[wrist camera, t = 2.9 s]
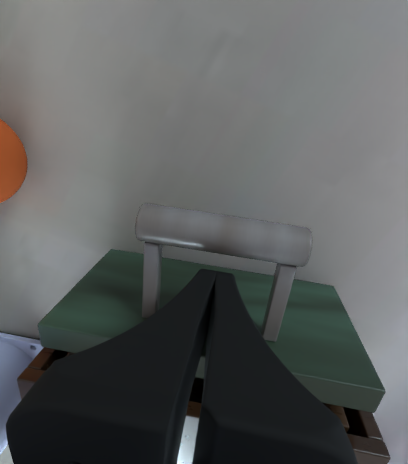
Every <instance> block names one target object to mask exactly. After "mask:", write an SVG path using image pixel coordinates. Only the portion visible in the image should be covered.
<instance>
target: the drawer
mask: <svg viewBox="0 0 408 464" xmlns="http://www.w3.org/2000/svg"><path fill="white" fill-rule="evenodd" d="M135 233H136V238H137V239H138V240H139V241H145V243H144V254H139V253H133V252H127V251H121V250H115V249H111V250H110V251H109V252H108V253H107V254H106V255H105V256H104V257H103V258H102V259H101V260H100V261H99V262H98V263H97V264H96V265H95V266H94V267H93V268H92V269H91V270H90V271H89V272H88V273H87V274H86V275H85V276H84V277H83V278H82V279H81V280H80V281H79V282H78V283H77V284H76V285H75V286H74V287H73V288H72V290H71V291H70V292H69V293H68V294H67V295H66V296H65V297H64V298H63V299H62V300H61V301H60V302H59V303H58V304H57V305H56V306H55V307H54V308H53V309H52V310H51V311H50V312H49V313H48V314H47V315H46V316H45V317H44V318H43V319H42V320H41V321H40V322H39V323H38V330H39V336H40V342H41V346H42V347H46V348H51V349H56V350H61V351H66V352H68V353H67V355H66V356H65V357H67V356H69V355H72V354H75V353H78V352H80V351H83V350H86V349H89V348H91V347H94V346H96V345H98V344H101V343H103V342H105V341H107V340H110V339H112V338H114V337H116V336H118V335H120V334H122V333H124V332H126V331H127V330H129V329H131V328H133V327H134V326H136V325H137V324H139V323H141V322H142V321H144V320H145V319H147V318H148V317H150V316H151V315H153V314H154V313H155V312H157V311H158V310H159V309H161V308H162V307H163V306H164V305H166V304H167V303H168V302H169V301H170V300H171V299H173V298H174V297H175V296H176V295H177V294H178V293H179V292H180V291H181V290H182V289H183V288H184V287H185V286H186V285H187V284H188V283H189V282H190V281H191V280H192V278H193V277H194V276H195V275H196V273H197V272H198V271H199V270H200V269H202V268H203V269H208V270H214V271H220V272H226V273H232V274H233V275H234V276H235V280H236V284H237V287H238V290H239V293H240V295H241V298H242V300H243V302H244V304H245V306H246V309H247V311H248V313H249V315H250V317H251V318H252V320H253V322H254V324H255V325H256V327H257V329H258V330H259V332H260V334H261V335H262V337H263V338H264V340H265V341H266V342H267V344H268V345H269V347H270V348H271V349H272V351H273V352H274V353H275V355H276V356H277V357H278V358H279V359H280V360H281V362H282V363H283V364H284V365H285V366H286V368H287V369H288V370H289V371H290V372H291V373H292V374H293V375H294V376H295V377H296V378H297V379H298V380H299V381H300V382H301V383H302V384H303V385H304V386H305V387H306V388H307V389H308V390H309V391H310V392H311V393H312V394H313V395H314V396H315V397H316V398H317V399H319V400H320V401H321V402H322V403H323V404H324V405H325V406H326V407H328V408H329V409H330V410H331V411H332V412H333V413H334V414H336V415H337V416H338V417H339V418H340V419H341V422H342V424H343V426H344V429H345V431H346V433H347V431H348V429H349V424H348V421H347V418H346V415H345V412H344V409H343V407H346V408H351V409H356V410H361V411H366V412H371V413H374V412H375V411H376V409H377V407H378V405H379V403H380V401H381V400H382V398H383V396H384V394H385V389H384V387H383V385H382V383H381V381H380V379H379V377H378V375H377V373H376V371H375V368H374V366H373V364H372V362H371V360H370V358H369V356H368V354H367V352H366V350H365V348H364V346H363V344H362V342H361V340H360V338H359V336H358V334H357V332H356V330H355V328H354V326H353V324H352V322H351V320H350V318H349V316H348V314H347V312H346V310H345V308H344V306H343V304H342V302H341V300H340V298H339V296H338V294H337V292H336V290H335V288H334V286H331V285H325V284H319V283H313V282H307V281H301V280H295V279H294V276H295V272H296V269H297V268H296V266H299V267H303V266H305V265H306V264H307V262H308V260H309V257H310V254H311V249H312V232H311V230H310V229H309V228H307V227H301V226H294V225H288V224H281V223H274V222H268V221H261V220H254V219H248V218H241V217H235V216H228V215H221V214H215V213H208V212H201V211H195V210H188V209H182V208H175V207H168V206H162V205H155V204H148V203H144V204H142V205H141V207H140V209H139V211H138V214H137V217H136V224H135ZM163 245H169V246H175V247H182V248H188V249H194V250H200V251H206V252H212V253H218V254H225V255H231V256H237V257H243V258H249V259H255V260H262V261H268V262H274V263H277V266H276V270H275V275H274V276H271V275H265V274H259V273H253V272H247V271H241V270H235V269H229V268H223V267H217V266H211V265H205V264H199V263H193V262H187V261H181V260H175V259H169V258H163V257H162V248H163ZM206 340H207V337H206ZM206 340H205V344H204V347H203V351H202V354H201V358H200V361H199V365H198V368H197V372H196V375H195V379H194V382H193V386H192V389H191V393H190V398H189V401H192V402H197V403H202V395H203V384H204V369H205V355H206Z"/></svg>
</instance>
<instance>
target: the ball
mask: <svg viewBox="0 0 408 464" xmlns="http://www.w3.org/2000/svg"><path fill="white" fill-rule="evenodd" d="M26 172H27V156H26V152H25V149H24V147H23V144H22V142H21V141H20V139H19V137H18V136H17V134H16V133H15V132H14V131H13V130H12V129H11V128H10V127H9V126H8V125H7V124H6V123H5V122H4V121H2V120H1V119H0V203H1V202H4V201H5V200H7V199H8V198H10V197H11V196H12V195H14V194H15V193H16V192H17V191H18V189H19V188H20V187H21V185H22V183H23V181H24V179H25V176H26Z"/></svg>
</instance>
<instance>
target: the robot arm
mask: <svg viewBox="0 0 408 464" xmlns="http://www.w3.org/2000/svg"><path fill="white" fill-rule="evenodd" d="M206 337H207V340H206ZM205 340H206V355H205V369H204V384H203V395H202V404H201V410H200V416H199V423H198V429H197V435H196V442H195V448H194V455H193V461H192V464H358V462H357V459H356V455H355V453H354V450H353V448H352V445H351V443H350V440H349V438H348V436H347V433H346V431H345V429H344V426H343V424H342V422H341V419H340V418H339V417H338V416H337V415H336V414H334V413H333V412H332V411H331V410H330V409H329V408H328V407H326V406H325V405H324V404H323V403H322V402H321V401H320V400H319V399H317V398H316V397H315V396H314V395H313V394H312V393H311V392H310V391H309V390H308V389H307V388H306V387H305V386H304V385H303V384H302V383H301V382H300V381H299V380H298V379H297V378H296V377H295V376H294V375H293V374H292V373H291V372H290V371H289V370H288V369H287V368H286V366H285V365H284V364H283V363H282V362H281V360H280V359H279V358H278V357H277V356H276V355H275V353H274V352H273V351H272V349H271V348H270V347H269V345H268V344H267V342H266V341H265V340H264V338H263V337H262V335H261V334H260V332H259V330H258V329H257V327H256V325H255V324H254V322H253V320H252V318H251V317H250V315H249V313H248V311H247V309H246V306H245V304H244V302H243V300H242V298H241V295H240V293H239V290H238V287H237V284H236V280H235V276H234V275H233V274H232V273H226V272H220V271H214V270H208V269H203V268H202V269H200V270H199V271H198V272H197V273H196V275H195V276H194V277H193V278H192V280H191V281H190V282H189V283H188V284H187V285H186V286H185V287H184V288H183V289H182V290H181V291H180V292H179V293H178V294H177V295H176V296H175V297H174V298H173V299H171V300H170V301H169V302H168V303H167V304H166V305H164V306H163V307H162V308H161V309H159V310H158V311H157V312H155V313H154V314H153V315H151V316H150V317H148V318H147V319H145V320H144V321H142V322H141V323H139V324H137V325H136V326H134V327H133V328H131V329H129V330H127V331H126V332H124V333H122V334H120V335H118V336H116V337H114V338H112V339H110V340H107V341H105V342H103V343H101V344H98V345H96V346H94V347H91V348H89V349H86V350H83V351H80V352H78V353H75V354H72V355H69V356H67V357H64V358H61V359H58V360H55V361H54V362H53V363H52V365H51V366H50V367H49V368H48V369H47V370H46V371H45V372H44V373H43V374H42V375H41V376H40V377H39V379H38V380H37V381H36V382H35V383H34V384H33V386H32V387H31V388H30V390H29V391H28V392H27V393H26V395H25V396H24V397H23V399H22V400H21V396H20V392H19V387H18V383H17V378H18V377H19V375H20V374H21V373H22V372H23V371H24V370H25V368H27V367H28V365H29V364H30V363H31V362H32V360H33V359H34V358H35V357H36V356H37V355H38V353H39V352H40V351H41V350H42V349H43V348H44V347H42V346H41V342H40V340H36V339H31V338H26V337H21V336H16V335H11V334H6V333H0V454H1V453H2V452H3V450H4V449H5V447H6V446H7V445H9V449H10V452H11V456H12V459H13V463H14V464H177V460H178V455H179V449H180V444H181V439H182V433H183V428H184V423H185V418H186V413H187V407H188V402H189V398H190V393H191V389H192V386H193V382H194V379H195V375H196V372H197V368H198V365H199V361H200V358H201V354H202V351H203V347H204V344H205Z"/></svg>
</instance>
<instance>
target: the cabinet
mask: <svg viewBox="0 0 408 464" xmlns="http://www.w3.org/2000/svg"><path fill="white" fill-rule="evenodd" d="M67 353H68V352H66V351H61V350H56V349H51V348H46V347H44V348H43V349H42V350H41V351H40V352H39V353H38V355H37V356H36V357H35V358H34V359H33V360H32V362H31V363H30V364H29V365H28V367H27V368H25V370H24V371H23V372H22V373H21V374H20V375H19V377H18V378H17V383H18V387H19V392H20V396H21V400H22V399H23V397H24V396H25V395H26V393H27V392H28V391H29V390H30V388H31V387H32V386H33V384H34V383H35V382H36V381H37V380H38V379H39V377H40V376H41V375H42V374H43V373H44V372H45V371H46V370H47V369H48V368H49V367H50V366H51V365H52V363H53V362H54V361H55V360H58V359H61V358H64V357H65V356H66V355H67ZM201 404H202V403H197V402H192V401H189V402H188V407H187V413H186V418H185V423H184V428H183V433H182V439H181V444H180V449H179V455H178V460H177V464H192V461H193V455H194V448H195V442H196V435H197V429H198V423H199V416H200V410H201ZM343 409H344V412H345V415H346V418H347V421H348V424H349V429H348V431H347V436H348V438H349V440H350V443H351V445H352V448H353V450H354V453H355V455H356V459H357V462H358V464H387V463H388V462H389V460H390V455H389V452H388V450H387V447H386V445H385V443H384V441H383V438H382V435H381V433H380V431H379V428H378V426H377V423H376V421H375V419H374V416H373V414H372V413H371V412H366V411H361V410H356V409H351V408H346V407H343Z"/></svg>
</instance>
